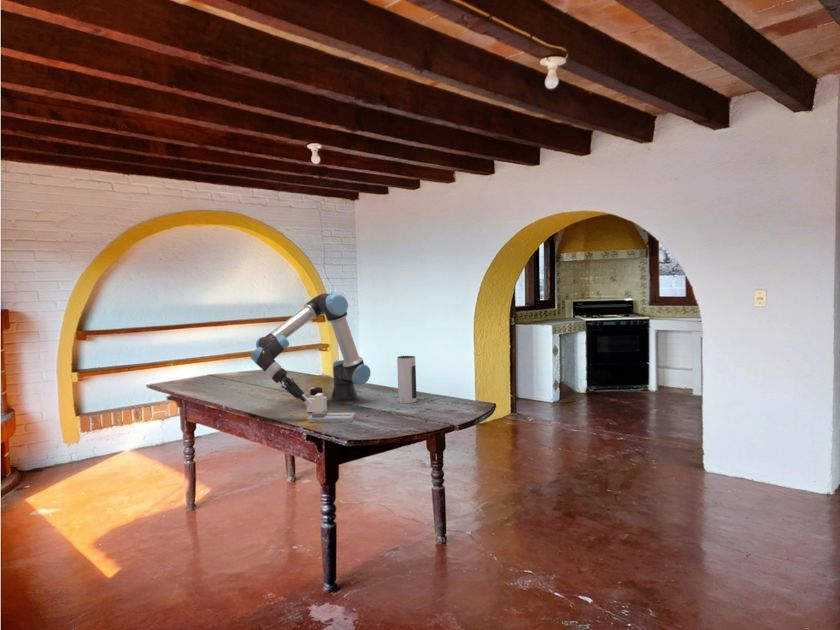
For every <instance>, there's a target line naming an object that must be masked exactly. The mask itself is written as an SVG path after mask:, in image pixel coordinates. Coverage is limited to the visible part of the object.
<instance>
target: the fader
mask: <svg viewBox="0 0 840 630" xmlns="http://www.w3.org/2000/svg"><path fill="white" fill-rule="evenodd" d="M324 397H325V396H324V392H322V393H317V394H316V395H315V412H313V413H311V414H312V417H324V416H325V415H326V414H327V413H329V412H328V409H327V410H324Z"/></svg>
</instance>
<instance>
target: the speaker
mask: <svg viewBox="0 0 840 630" xmlns="http://www.w3.org/2000/svg"><path fill="white" fill-rule="evenodd" d="M396 359H397V360H396V362H397V364H396V365H397V367H396V368H397V391H398V392H397V394H398V396H397V397H398V403H399V404H402V403H404V404H405V405H406V403H410V404H415V403H417V401H418V400H417V380H416V379H417V372H416V367H417V366H416V365H417V364H416V356H414V355H400V356H397V358H396Z"/></svg>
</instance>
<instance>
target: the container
mask: <svg viewBox="0 0 840 630" xmlns="http://www.w3.org/2000/svg"><path fill="white" fill-rule="evenodd" d="M317 393H323V388H322V387H320V386H316V387H315V386H314V387H313V386H312V387H311V388H310V389H309V397H307V398H308V399H309V400H310V401H311V402H312V404H311V405H310V406H309V407H307V406H306V413H307V412H315V395H316V394H317ZM327 400H328V399H327V396H324V410H327V411H328V406H327V405H328V404H327V403H328V401H327Z"/></svg>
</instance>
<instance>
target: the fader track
mask: <svg viewBox="0 0 840 630" xmlns="http://www.w3.org/2000/svg"><path fill="white" fill-rule="evenodd" d="M355 416H356V417H357V415H356V412H328V413H327V414H326V415H325V416H324V417H312V413H310V415H309V416H308V417H307V418H306V422H307V421H344V422H343V423H346V422H345V421H348V422H347V423H352V422H351V421H354V419H355V418H356V417H355ZM354 417H355V418H354Z"/></svg>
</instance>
